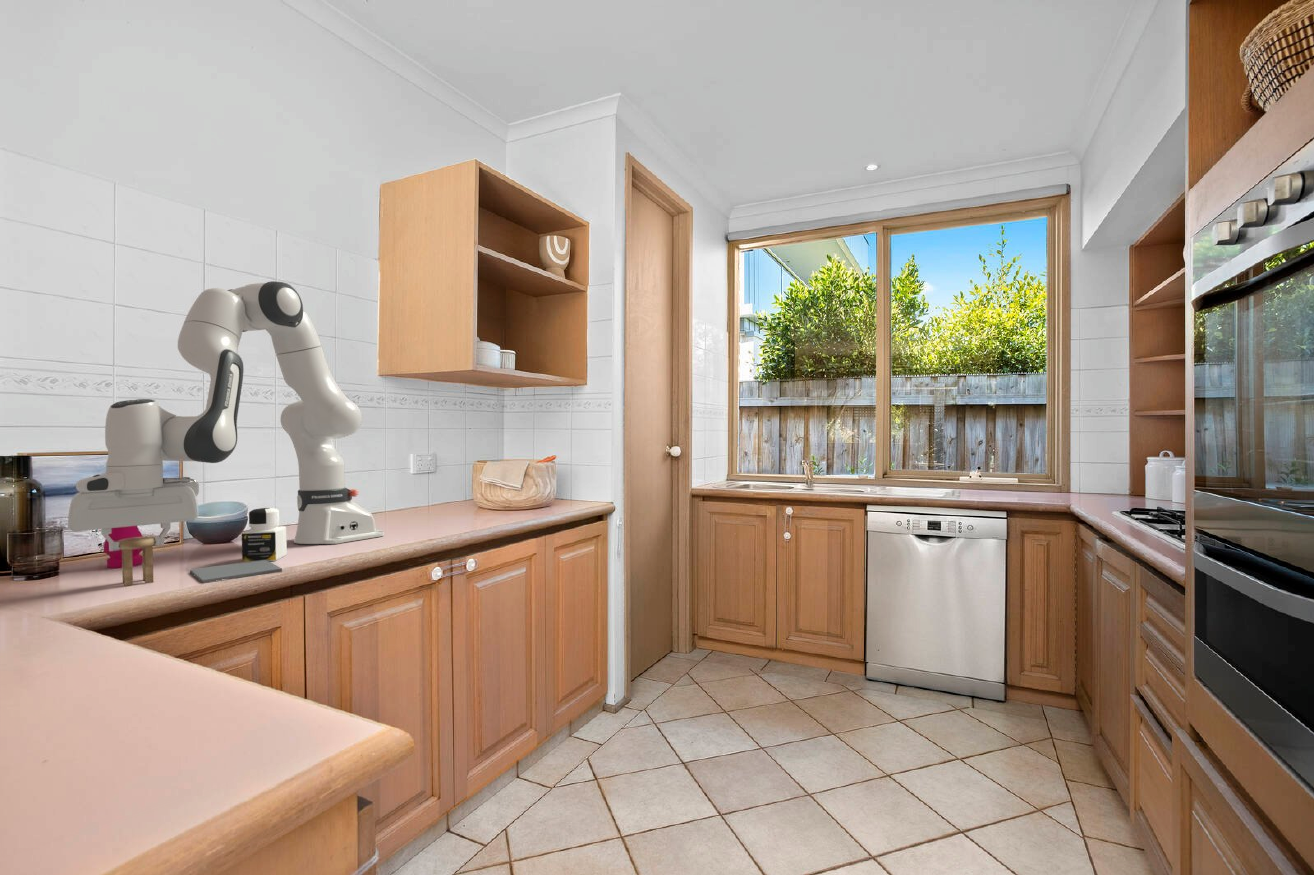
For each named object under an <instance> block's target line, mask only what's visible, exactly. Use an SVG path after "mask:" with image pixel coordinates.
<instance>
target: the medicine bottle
mask: <svg viewBox="0 0 1314 875" xmlns="http://www.w3.org/2000/svg"><path fill="white" fill-rule="evenodd" d="M279 525H280V510H279V509H277V508H275V507H260V508H255V509H252V510H250V511H249V512H248V526H249V528H250V529H248V530H245V531H242V532H241V560H242V561H241V563H243V562H250V561H257V560H264V559H265V560H267V561H269V562H277V561H279V560H280V559H282V558H284V557H286V556H287V555H288V549H287V527H286V526H284V525H283V526H282V525H280V526H279Z"/></svg>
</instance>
